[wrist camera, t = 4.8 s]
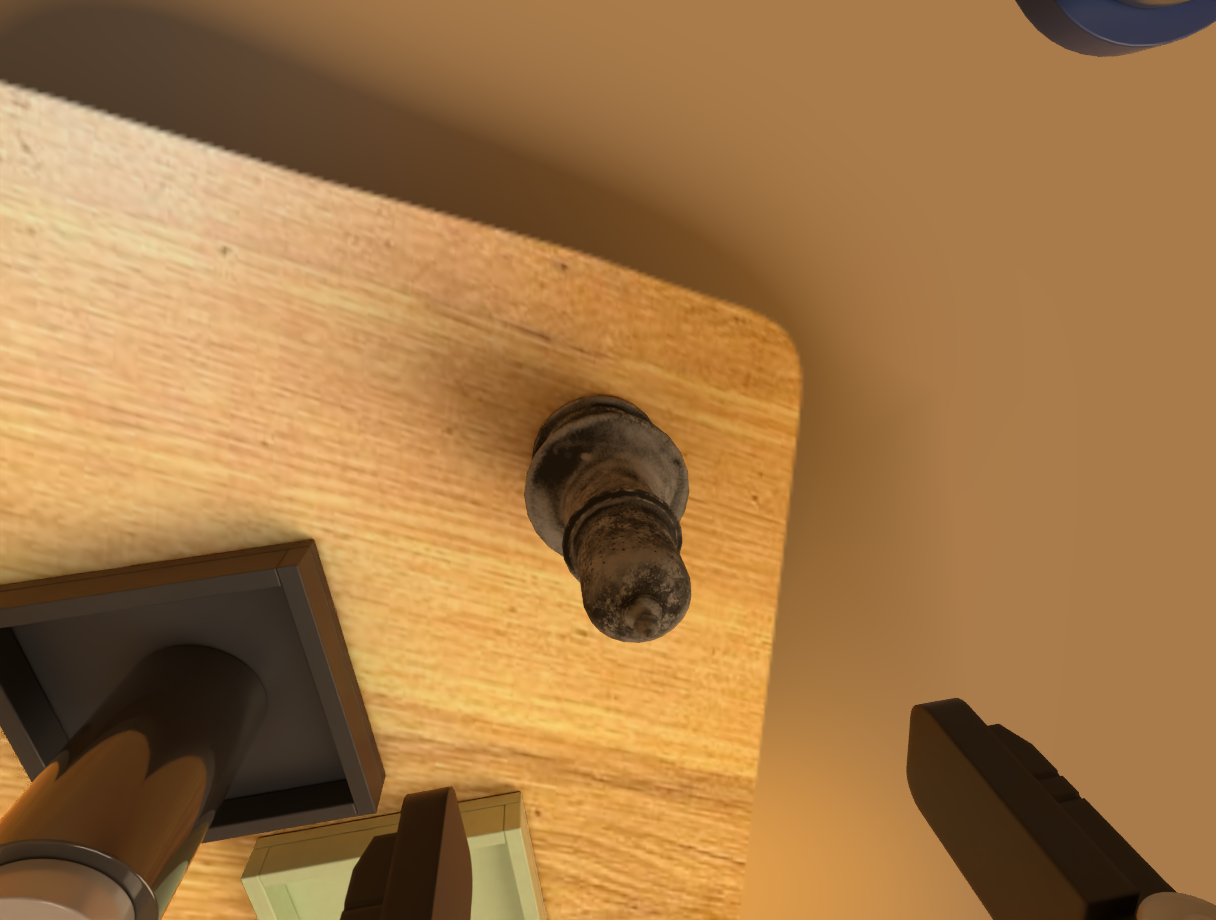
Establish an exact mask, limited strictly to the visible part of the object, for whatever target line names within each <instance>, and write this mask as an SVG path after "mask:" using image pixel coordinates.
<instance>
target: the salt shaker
mask: <svg viewBox="0 0 1216 920" xmlns="http://www.w3.org/2000/svg"><path fill="white" fill-rule="evenodd" d="M688 495H689V480H688V470H687V468H686V465H685V462H684V460H683V457H682V454H681V452H680V451H679V449H678V448H677V447H676V445H675V444H674V443H673V441H672V440H671V439H670V437H669V436H668V435H667V434H666V433H664V432H663V431H662V430H660V429H659V428H658V427H656V426H655V425H654V424H653V423H652V422H651V421H650V419H649V418H648V416H647V415H646V414H645V413H644V412H642V411H641V410H640V409H639V408H637V407H636V406H635V405H633V404H632V403H629V402H627V401H624V400H622V399H619V398H617V397H610V396H602V395H597V396H589V397H582V398H579V399H577V400H574V401H572V402H569V403H567V404H565V405H564V406H562V407H561V408H560V409H558V410H557V411H556V412H554V413H553V414H551V416H550V417H549V418H548V419H547V421H546V422H545V423H544V425H543V426H542V427H541V429H540V431H539V433H538V436H537V438H536V440H535V443H534V449H533V457H532V463H531V465H530V467H529V470H528V472H527V476H526V484H525V492H524V496H525V502H526V508H527V514H528V517H529V519H530V521H531V523H532V525H533V527H534V529H535V531H536V533H537V534H538V535H539V536H540V537H541V539H542V540H543V541H544V542H545V543H546V544H547V545H548V546H549V547H550V548H551V549H553V550H554V551H556V552H557V553H559V554H560V555H562V556H563V557H564V560H565V562H566V564H567V566H568V569H569V571H570V572H571V573H572V574H573V576H574V577H575V578H576V579H577V580H578V581H579V582H580V584H581V591H582V597H583V604H584V608H585V610H586V612H587V614H588V616H589V618H590V620H591V622H592V623H593V624H594V625H595V626H596V628H597V629H598V630H599V631H600V632H602V633H603V634H605V635H607V636H608V637H610V638H612V639H616V640H619V641H622V642H635V643H640V642H646V641H651V640H654V639H657V638H659V637H662V636H663V635H665V634H666V633H668V632H669V631H671V630H672V629H674V628H675V627H676V626H677V624H678V623H679V622H680V621H681V620H682V619H683V617H684V616H685V614H686V612H687V610H688V608H689V604H690V600H691V583H690V577H689V575H688V572H687V570H686V567H685V565H684V563H683V561H682V558H681V556H680V550H681V546H682V531H681V526H680V524H679V522H680V520H681V518H682V516H683V514H684V512H685V509H686V504H687V499H688Z"/></svg>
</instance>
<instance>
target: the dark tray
mask: <svg viewBox="0 0 1216 920" xmlns="http://www.w3.org/2000/svg"><path fill="white" fill-rule="evenodd" d="M181 645H197V646H205V647H210V648H214V649H217V650H220V651H223V652H225V653H228V654H230V655H232V656H234V657H236V658H237V659H239V660H240V661H242V662H243V663H245V664H246V665H247V666H248V667H249V668H250V669H252V670H253V672H254V673H255V674H256V675H257V676H258V678H259V679H260V681H261V682H262V684H263V687H264V689H265V692H266V695H267V702H268V708H267V715H266V718H265V721H264V723H263V725H262V727H261V729H260V731H259V733H258V735H257V737H256V739H255V741H254V743H253V744H252V746H251V748H250V750H249V752H248V754H247V756H246V758H245V760H244V762H243V764H242V766H241V768H240V770H239V771H238V773H237V775H236V777H235V779H234V781H233V783H232V785H231V787H230V789H229V791H228V793H227V795H226V796H225V798H224V800H223V802H222V804H221V806H220V808H219V810H218V812H217V814H216V816H215V818H214V820H213V822H212V823H211V825H210V827H209V829H208V831H207V833H206V835H205V837H204V839H203V841H202V843H207V842H213V841H218V840H224V839H230V838H235V837H241V836H247V835H252V834H258V833H264V832H269V831H275V830H281V829H286V828H292V827H297V826H303V825H309V824H314V823H320V822H326V821H331V820H337V819H343V818H348V817H354V816H357V815H359V816H362V815H367V814H373V813H376V811H377V807H378V804H379V800H380V796H381V792H382V788H383V783H384V779H385V773H384V769H383V766H382V763H381V759H380V756H379V753H378V750H377V746H376V743H375V740H374V736H373V733H372V730H371V726H370V723H369V720H368V717H367V713H366V710H365V707H364V703H363V700H362V697H361V693H360V690H359V687H358V684H357V680H356V677H355V674H354V670H353V667H352V664H351V660H350V657H349V654H348V651H347V647H346V644H345V641H344V637H343V634H342V631H341V627H340V624H339V621H338V618H337V614H336V611H335V608H334V604H333V601H332V598H331V594H330V591H329V588H328V585H327V581H326V578H325V575H324V571H323V568H322V565H321V561H320V558H319V555H318V552H317V548H316V545H315V542H314V540H308V541H301V542H295V543H288V544H281V545H274V546H267V547H261V548H254V549H247V550H240V551H233V552H226V553H220V554H213V555H206V556H199V557H192V558H185V559H179V560H172V561H165V562H158V563H151V564H145V565H138V566H131V567H124V568H117V569H110V570H104V571H97V572H90V573H83V574H76V575H70V576H63V577H56V578H49V579H42V580H35V581H29V582H22V583H15V584H8V585H1V586H0V727H1V728H2V730H3V732H4V734H5V735H6V737H7V739H8V741H9V743H10V744H11V746H12V748H13V750H14V751H15V753H16V755H17V757H18V758H19V760H20V762H21V764H22V766H23V767H24V769H25V771H26V773H27V774H28V776H29V778H30V780H31V782H33V781H34V780H35V779H36V778H37V777H38V776H39V774H40V773H41V772H42V771H43V770H44V769H45V768H46V766H47V765H48V764H49V763H50V762H51V761H52V759H53V758H54V757H55V756H56V755H57V754H58V753H59V751H60V750H61V749H62V748H63V747H64V746H65V745H66V743H67V742H68V741H69V740H70V739H71V738H72V737H73V735H74V734H75V733H76V732H77V731H78V730H79V729H80V727H81V726H82V725H83V724H84V723H85V722H86V721H87V719H88V718H89V717H90V716H91V715H92V714H93V713H94V711H95V710H96V709H97V708H98V707H99V706H100V705H101V703H102V702H103V701H104V700H105V699H106V698H107V697H108V695H109V694H110V693H111V692H112V691H113V690H114V689H115V687H116V686H117V685H118V684H119V683H120V682H121V681H122V679H123V678H124V677H125V676H126V675H127V674H128V673H129V671H130V670H131V669H132V668H133V667H134V666H135V665H136V664H137V663H138V662H139V661H140V660H141V659H143V658H144V657H146V656H147V655H149V654H151V653H153V652H156V651H158V650H161V649H164V648H168V647H173V646H181Z"/></svg>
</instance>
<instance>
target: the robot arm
mask: <svg viewBox="0 0 1216 920" xmlns="http://www.w3.org/2000/svg"><path fill="white" fill-rule="evenodd" d="M1115 1H1117V2H1120V3H1122V4H1125V5H1128V6H1132V7H1137V8H1146V9H1152V8H1164V7H1170V6H1173V5H1177V4H1181V3H1184V2H1187V1H1190V0H1115ZM907 780H908V784H909V788H910V791H911V794H912V796H913V799H914V801H915V803H916V805H917V807H918V808H919V810H920V812H921V813H922V815H923V816H924V818H925V819H926V821H927V822H928V824H929V825H930V827H931V828H932V829H933V831H934V832H935V834H936V835H937V837H938V838H939V840H940V841H941V843H942V844H943V846H944V847H945V849H946V850H947V852H948V853H949V855H950V856H951V858H952V859H953V861H954V862H955V864H956V865H957V867H958V868H959V870H960V871H961V873H962V874H963V875H964V877H965V878H966V880H967V881H968V883H969V884H970V886H971V887H972V889H973V890H974V892H975V893H976V895H977V896H978V898H979V899H980V901H981V902H982V904H983V905H984V907H985V908H986V910H987V911H988V913H989V914H990V916H991V917H992V919H993V920H1216V905H1214V904H1212V903H1210V902H1207V901H1205V900H1202V899H1199V898H1197V897H1194V896H1190V895H1186V894H1182V893H1177V892H1176V891H1175V890H1174V889H1173V888H1172V887H1171V886H1170V885H1169V884H1167V883H1166V882H1165V881H1164V880H1163V879H1162V878H1161V876H1159V874H1158V873H1157V872H1156V871H1155V870H1154V869H1153V868H1152V867H1151V866H1150V865H1149V864H1148V863H1147V862H1146V861H1145V860H1144V859H1143V858H1142V857H1141V856H1140V855H1139V854H1138V853H1137V852H1136V851H1135V850H1134V849H1133V848H1132V847H1131V846H1130V845H1129V844H1128V843H1127V842H1126V841H1125V839H1124V838H1123V837H1122V836H1121V835H1120V834H1119V833H1118V832H1117V831H1116V830H1115V829H1114V828H1113V827H1112V826H1111V825H1110V824H1109V823H1108V822H1107V821H1106V820H1105V819H1104V818H1103V817H1102V816H1101V815H1100V814H1099V813H1098V812H1097V811H1096V810H1095V809H1094V808H1093V807H1092V806H1091V805H1090V803H1089V802H1088V801H1087V800H1086V799H1085V798H1083V799H1082V798H1081V797H1080V796H1079V792H1078V791H1077V790H1076V789H1075V788H1074V787H1073V786H1072V785H1071V784H1070V783H1069V782H1068V781H1067V780H1066V779H1065V778H1064V777H1063V776H1059V774H1058V771H1057V770H1056V768H1055V767H1054V766H1053V765H1052V764H1051V763H1050V762H1049V761H1048V760H1047V759H1046V758H1045V757H1044V756H1043V755H1042V754H1041V753H1040V752H1039V751H1038V750H1037V749H1036V748H1035V747H1034V746H1033V745H1032V744H1031V743H1029V742H1028V741H1026V740H1024V739H1023V738H1021V737H1019V736H1018V735H1016V734H1014V733H1013V732H1011V731H1010V730H1008V729H1006V728H1005V727H1003V726H1002V725H1000V724H995V725H990V726H987V725H986V724H985V723H984V722H983V721H982V720H981V718H980V717H979V716H978V715H977V714H976V713H975V712H974V711H973V710H972V709H971V708H970V706H969V705H968V704H967V703H966V702H964V701H963V700H961V699H959V698H953V699H947V700H941V701H935V702H930V703H924V704H919V705H915V706H914V707H913V708H912V711H911V717H910V730H909V744H908V755H907ZM472 890H473V878H472V863H471V855H470V850H469V845H468V841H467V837H466V833H465V829H464V825H463V821H462V817H461V813H460V810H459V806H458V802H457V798H456V794H455V791H454V789H453V787H452V786H451V787H445V788H440V789H434V790H429V791H423V792H418V793H412V794H407V795H406V797H405V799H404V801H403V805H402V810H401V815H400V820H399V825H398V830H397V832H395V833H390V834H384V835H379V836H374V837H373V839H372V840H371V842H370V843H369V845H368V847H367V848H366V850H365V851H364V853H363V854H362V856H361V857H360V859H359V860H358V862H357V864H356V865H355V867H354V868H353V871H352V875H351V879H350V883H349V886H348V890H347V894H346V898H345V902H344V911H342V913H341V917H340V920H470V919H471V906H472Z"/></svg>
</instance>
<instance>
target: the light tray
mask: <svg viewBox="0 0 1216 920" xmlns="http://www.w3.org/2000/svg"><path fill="white" fill-rule="evenodd" d="M458 806H459V810H460V813H461V817H462V821H463V825H464V829H465V833H466V837H467V841H468V845H469V850H470V855H471V863H472V878H473V890H472V906H471V919H470V920H547V915H546V910H545V905H544V901H543V896H542V891H541V886H540V881H539V876H538V872H537V867H536V862H535V857H534V852H533V847H532V843H531V838H530V833H529V828H528V823H527V818H526V814H525V809H524V804H523V799H522V794H521V792H517V793H511V794H505V795H500V796H494V797H488V798H483V799H477V800H472V801H466V802H460V803H458ZM400 815H401V813H398V814H393V815H387V816H381V817H376V818H370V819H364V820H359V821H353V822H348V823H342V824H336V825H331V826H325V827H319V828H314V829H308V830H302V831H297V832H291V833H286V834H280V835H274V836H269V837H263V838H258V839H257V842H256V844H255V846H254V850H253V851H252V854H251V856H250V858H249V861H248V863H247V865H246V868H245V870H244V872H243V874H242V877H241V882H242V884H243V886H244V888H245V891H246V893H247V895H248V897H249V900H250V902H251V904H252V906H253V909H254V911H255V913H256V916H257V918H258V920H340V917H341V913H342V911H344V902H345V898H346V894H347V890H348V886H349V883H350V879H351V875H352V871H353V868H354V867H355V865H356V864H357V862H358V860H359V859H360V857H361V856H362V854H363V853H364V851H365V850H366V848H367V847H368V845H369V843H370V842H371V840H372V839H373V837H374V836H379V835H384V834H390V833H395V832H397V830H398V825H399V820H400Z"/></svg>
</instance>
